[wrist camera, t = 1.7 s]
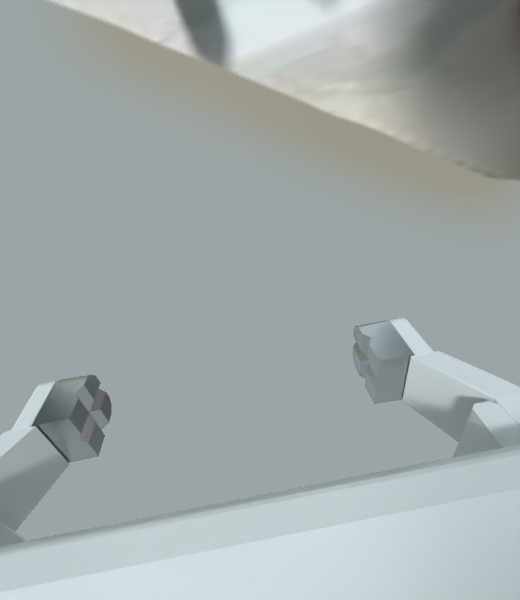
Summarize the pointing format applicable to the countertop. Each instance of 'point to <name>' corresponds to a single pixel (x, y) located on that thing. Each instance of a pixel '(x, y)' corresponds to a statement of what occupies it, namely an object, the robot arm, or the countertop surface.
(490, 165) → the countertop surface
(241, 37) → the countertop surface
